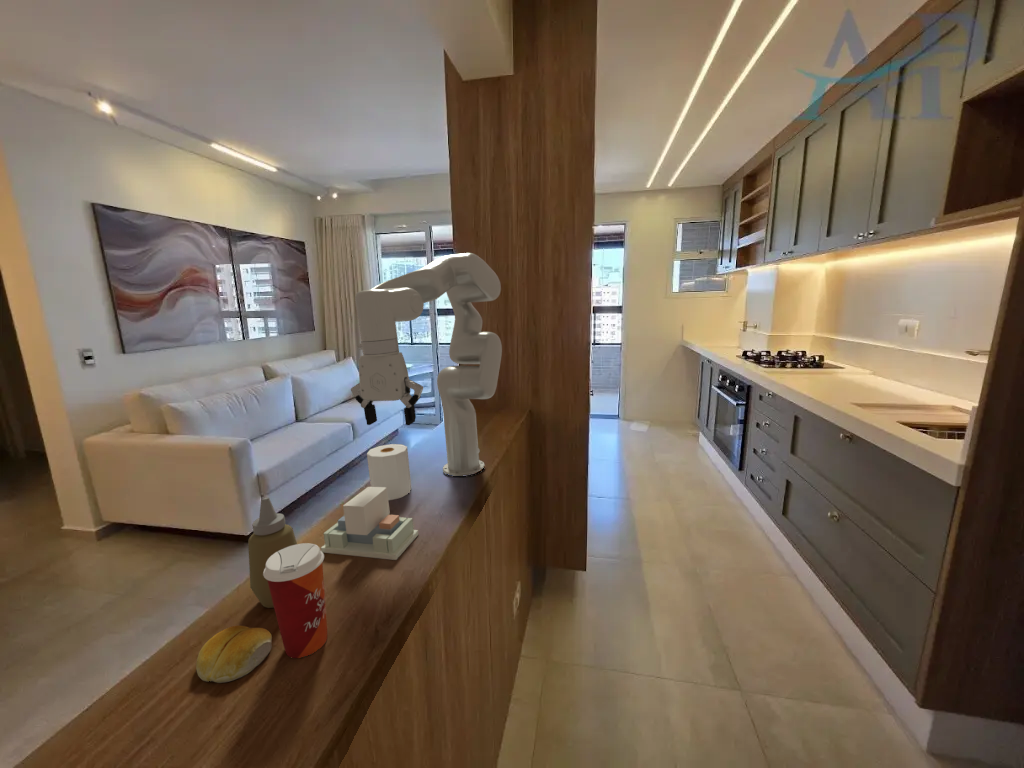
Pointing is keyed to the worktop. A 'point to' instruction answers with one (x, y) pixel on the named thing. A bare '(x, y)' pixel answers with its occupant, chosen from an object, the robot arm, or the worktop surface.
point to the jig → (381, 545)
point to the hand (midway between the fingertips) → (391, 423)
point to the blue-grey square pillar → (383, 527)
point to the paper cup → (298, 597)
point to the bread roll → (233, 653)
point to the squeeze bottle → (266, 547)
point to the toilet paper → (390, 469)
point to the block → (366, 510)
